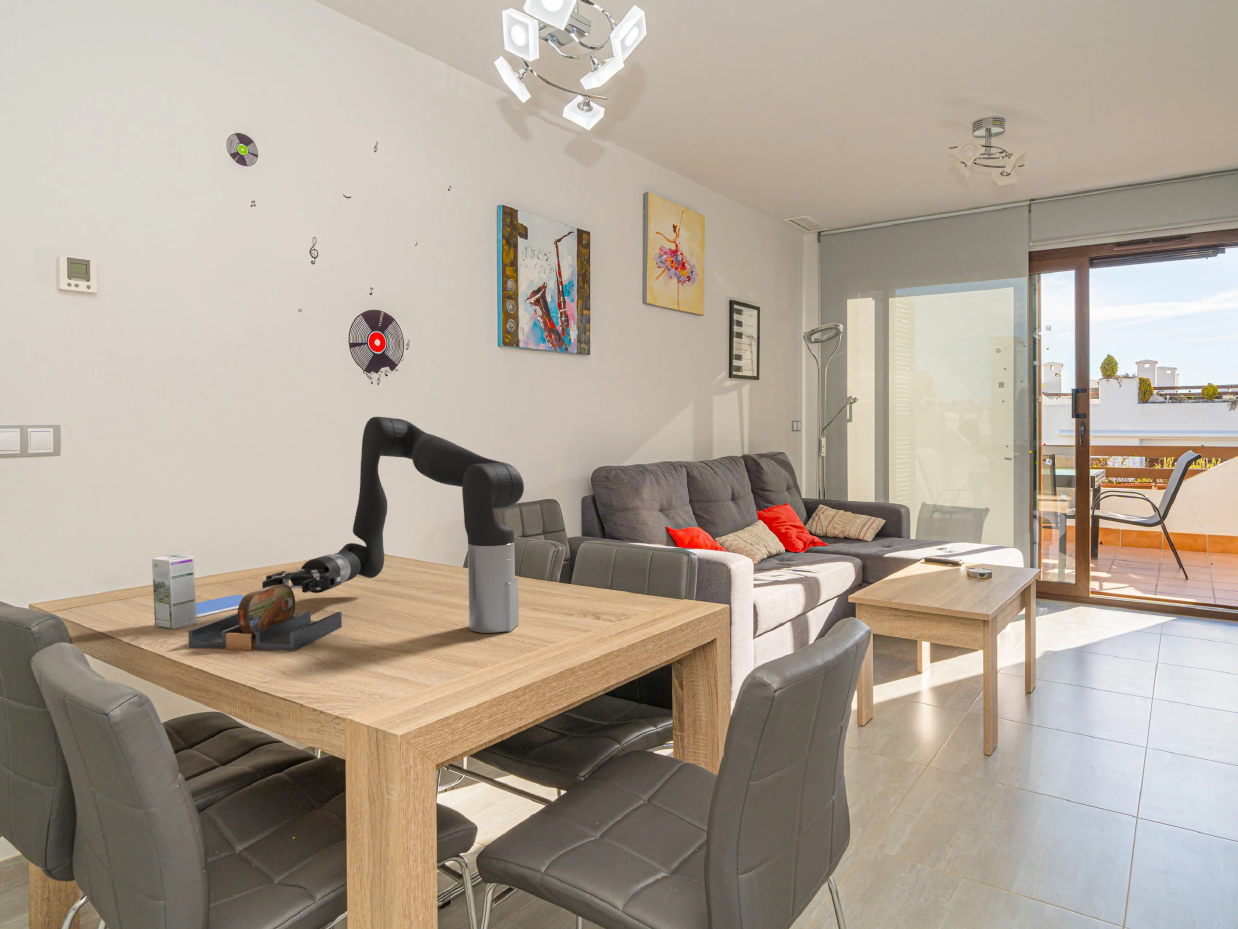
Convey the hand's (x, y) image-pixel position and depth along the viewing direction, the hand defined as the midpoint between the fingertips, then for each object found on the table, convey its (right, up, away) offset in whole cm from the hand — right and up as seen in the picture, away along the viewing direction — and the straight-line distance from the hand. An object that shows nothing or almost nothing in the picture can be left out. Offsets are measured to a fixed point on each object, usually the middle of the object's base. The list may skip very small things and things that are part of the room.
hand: (284, 587), depth 153 cm
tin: (-1, -8, -5) cm, 9 cm away
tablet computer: (-25, -9, +22) cm, 35 cm away
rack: (-1, -9, -5) cm, 10 cm away
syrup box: (-25, -9, +5) cm, 27 cm away
